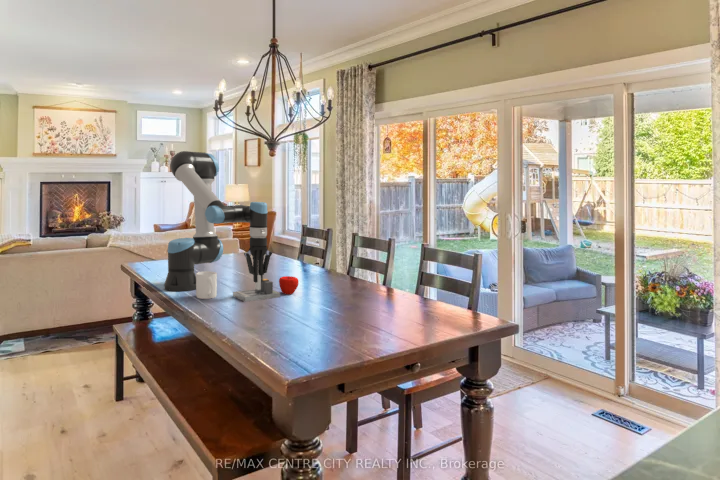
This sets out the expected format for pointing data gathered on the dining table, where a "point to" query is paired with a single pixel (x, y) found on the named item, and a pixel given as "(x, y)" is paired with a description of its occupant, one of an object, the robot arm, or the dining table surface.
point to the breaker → (268, 287)
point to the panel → (254, 295)
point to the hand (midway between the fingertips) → (257, 289)
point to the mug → (206, 285)
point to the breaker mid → (263, 284)
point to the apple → (288, 284)
